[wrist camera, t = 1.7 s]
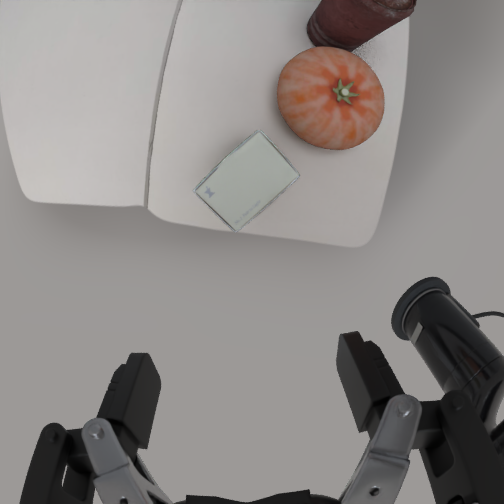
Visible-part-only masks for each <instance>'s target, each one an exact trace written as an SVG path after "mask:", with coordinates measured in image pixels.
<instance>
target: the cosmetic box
mask: <svg viewBox="0 0 504 504" xmlns="http://www.w3.org/2000/svg"><path fill="white" fill-rule="evenodd" d="M299 177H300V174H299V173H298V172H297V170H296V169H295V168H294V167H293V165H292V164H291V163H290V162H289V161H288V159H287V158H286V157H285V156H284V155H283V153H282V152H281V151H280V150H279V149H278V148H277V147H276V145H275V144H274V143H273V142H272V141H271V140H270V139H269V138H268V137H267V136H266V135H265V134H264V132H263V131H261V130H257V131H255V132H254V133H253V134H252V135H251V136H249V137H248V138H247V139H246V140H245V141H243V142H242V143H241V144H240V145H239V146H238V147H237V148H235V149H234V150H233V151H232V152H231V153H230V154H229V155H228V156H227V157H226V158H224V159H223V160H222V161H221V162H220V163H219V164H218V165H217V166H216V167H215V168H214V169H213V170H212V171H211V172H210V173H209V174H208V175H207V176H206V177H205V178H204V179H203V180H202V181H201V182H200V183H199V184H198V185H197V186H196V187H195V188H194V190H193V192H194V193H195V194H196V195H197V196H198V197H199V198H200V199H201V200H202V201H203V202H204V203H205V204H206V206H208V208H209V209H210V210H212V211H213V212H214V213H215V214H216V215H217V216H218V217H219V218H220V219H221V220H222V221H223V222H224V223H225V224H226V225H227V226H228V227H229V228H230V229H231V230H233V231H234V232H238V231H239V230H240V229H242V228H243V227H244V226H245V225H246V224H248V223H249V222H250V221H251V220H252V219H254V218H255V217H256V216H257V215H258V214H259V213H260V212H262V211H263V210H264V209H265V208H266V207H267V206H268V205H269V204H271V203H272V202H273V201H274V200H275V199H276V198H277V197H278V196H279V195H280V194H282V193H283V192H284V191H285V190H286V189H287V188H288V187H289V186H290V185H291V184H293V183H294V182H295V181H296V180H297V179H298V178H299Z"/></svg>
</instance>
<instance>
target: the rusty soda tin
mask: <svg viewBox="0 0 504 504" xmlns="http://www.w3.org/2000/svg"><path fill="white" fill-rule="evenodd" d="M416 1H417V0H322V1H321V2H320V4H319V5H318V7H317V8H316V10H315V11H314V13H313V15H312V16H311V18H310V19H309V22H308V24H307V31H308V34H309V36H310V39H311V40H312V41H313V42H314V44H315V45H316V46H318V47H334V48H339V49H343V50H346V51H349V52H351V51H353V50H355V49H356V48H358V47H359V46H361V45H362V44H364V43H365V42H367V41H368V40H370V39H371V38H373V37H375V36H376V35H378V34H379V33H381V32H383V31H384V30H386V29H388V28H389V27H391V26H393V25H394V24H396V23H398V22H400V21H401V20H403V19H405V18H407V17H409V16H410V15H411V14H412V12H413V11H414V7H415V5H416Z"/></svg>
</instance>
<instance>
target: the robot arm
mask: <svg viewBox="0 0 504 504" xmlns="http://www.w3.org/2000/svg"><path fill="white" fill-rule="evenodd" d="M490 315H496V316H501V317H504V314H503V313H501V312H494V311H493V312H484V313H480V314H475V315H471V314H470V313H469V312H467V310H466V309H465V308H464V307H463V306H462V305H461V304H460V303H458V301H457V300H456V299H454V298H453V297H452V296H451V295H450V294H449V293H448V292H444V291H443V290H442V289H440V288H437V287H432V288H428V289H426V290H424V291H422V292H420V293H419V294H418V295H416V296H415V297H414V298H413V299H412V300H411V302H410V303H409V304H408V305H407V307H406V309H405V310H404V312H403V315H402V318H401V328H402V330H403V332H404V333H405V334H406V335H407V336H408V338H409V339H410V341H411V342H412V344H413V345H414V347H415V348H416V349H417V351H418V353H419V354H420V355H421V357H422V358H423V360H424V361H425V363H426V365H427V366H428V368H429V369H430V371H431V372H432V374H433V375H434V377H435V378H436V380H437V381H438V383H439V385H440V386H441V388H442V390H443V391H444V393H445V395H444V396H443V398H442V399H441V400H437V401H423V402H422V401H418V400H417V399H416V398H415V397H413V396H411V395H407V394H405V393H404V391H403V389H402V388H401V386H400V384H399V382H398V380H397V379H396V376H395V374H394V373H393V371H392V369H391V367H390V366H389V363H388V362H387V360H386V358H385V357H384V354H383V353H382V351H381V349H380V347H378V346H377V345H376V344H375V343H373V342H372V341H366V342H364V341H363V339H362V337H361V335H360V333H359V332H358V331H355V332H350V333H344V334H340V336H339V343H338V352H337V358H336V365H337V371H338V374H339V377H340V380H341V382H342V385H343V388H344V391H345V393H346V396H347V399H348V402H349V405H350V408H351V410H352V413H353V416H354V419H355V422H356V425H357V428H358V431H359V433H360V432H364V431H368V434H369V437H370V440H369V443H368V445H367V447H366V449H365V451H364V453H363V456H362V458H361V460H360V462H359V464H358V466H357V468H356V470H355V471H354V473H353V475H352V477H351V479H350V480H349V482H348V484H347V485H346V487H345V489H344V491H343V492H342V494H341V496H340V497H339V499H338V500H337V499H334V498H331V497H328V496H324V495H316V494H310V490H309V489H308V490H303V491H296V492H289V493H281V494H276V495H273V496H270V497H267V498H263V499H260V500H256V501H252V502H246V503H245V502H239V501H234V500H229V499H224V498H220V497H216V496H215V497H214V496H194V495H186V500H185V501H180V502H176V503H174V504H394V502H395V500H396V498H397V495H398V493H399V491H400V489H401V486H402V484H403V481H404V479H405V476H406V473H407V471H408V468H409V464H410V460H408V458H409V454H410V451H411V449H419V451H420V453H421V456H422V460H423V463H424V466H425V469H426V471H427V475H428V478H429V481H430V484H431V488H432V491H433V494H434V498H435V502H436V504H504V420H503V421H502V422H501V423H500V424H498V425H496V415H497V412H498V409H499V406H500V404H501V401H502V399H503V397H504V356H503V355H502V354H501V352H500V351H499V350H498V349H497V348H496V347H495V345H494V344H493V343H492V342H491V341H490V340H489V339H488V338H487V337H486V335H485V334H484V333H483V332H482V331H481V330H480V329H479V326H480V325H479V323H478V322H477V320H476V318H479V317H484V316H490ZM160 390H161V380H160V376H159V374H158V372H157V370H156V368H155V365H154V363H153V361H152V359H151V357H150V355H149V354H148V353H131V354H130V355H129V357H128V360H127V363H126V364H122V365H120V367H119V368H118V369H117V370H116V371H115V372H114V374H113V377H112V379H111V383H110V384H109V386H108V391H106V394H105V396H104V399H103V402H102V404H101V407H100V409H99V412H98V415H97V417H96V418H94V419H91V420H89V421H88V422H87V423H86V424H85V425H84V427H83V428H81V429H72V430H66V429H65V428H64V427H63V426H62V425H60V424H58V423H50V424H48V425H46V426H45V427H44V428H43V430H42V432H41V434H40V437H39V440H38V442H37V445H36V448H35V451H34V454H33V457H32V460H31V463H30V466H29V470H28V473H27V476H26V480H25V484H24V487H23V491H22V495H21V499H20V504H93V497H94V491H95V488H96V490H97V492H98V494H99V496H100V499H101V501H102V502H103V504H173V503H172V501H171V500H170V499H169V498H168V497H167V496H166V494H165V493H164V492H163V491H162V490H161V489H160V488H159V486H158V485H157V483H156V482H155V480H154V479H153V477H152V476H151V474H150V473H149V471H148V469H147V468H146V466H145V464H144V463H143V461H142V459H141V458H140V456H139V454H138V453H137V450H138V448H141V449H147V447H148V443H149V438H150V433H151V429H152V424H153V420H154V415H155V411H156V407H157V402H158V398H159V394H160ZM66 465H67V466H68V467H67V471H66V475H65V479H64V483H63V487H62V479H63V475H64V471H65V467H66Z"/></svg>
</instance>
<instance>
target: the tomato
mask: <svg viewBox="0 0 504 504" xmlns="http://www.w3.org/2000/svg"><path fill="white" fill-rule="evenodd" d="M277 101H278V106H279V110H280V112H281V114H282V116H283V118H284V119H285V121H286V123H287V124H288V125H289V127H290V128H291V129H292V130H293V131H294V132H295V133H296V134H297V135H298V136H299V137H300V138H302V139H303V140H304V141H306V142H308V143H310V144H312V145H315V146H318V147H321V148H325V149H334V150H344V149H349V148H353V147H355V146H357V145H359V144H361V143H363V142H364V141H366V140H367V139H368V138H369V137H370V136H371V135H372V134H373V133H374V132H375V131H376V130H377V128H378V127H379V125H380V123H381V120H382V117H383V113H384V92H383V88H382V86H381V84H380V81H379V79H378V77H377V76H376V74H375V73H374V71H373V70H372V69H371V67H370V66H369V65H368V64H367V63H366V62H365V61H364V60H362V59H361V58H360V57H358V56H357V55H355V54H353V53H351V52H349V51H346V50H343V49H339V48H334V47H314V48H310V49H308V50H305V51H303V52H301V53H300V54H298V55H297V56H295V57H294V58H293V59H291V60H290V61H289V62H288V63H287V64H286V65H285V67H284V68H283V70H282V71H281V74H280V77H279V81H278V87H277Z"/></svg>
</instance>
